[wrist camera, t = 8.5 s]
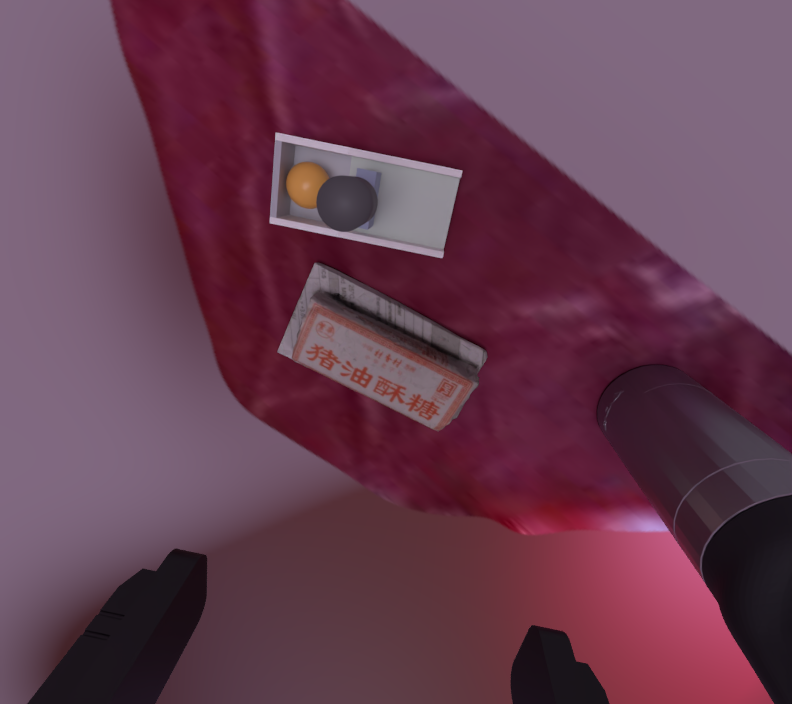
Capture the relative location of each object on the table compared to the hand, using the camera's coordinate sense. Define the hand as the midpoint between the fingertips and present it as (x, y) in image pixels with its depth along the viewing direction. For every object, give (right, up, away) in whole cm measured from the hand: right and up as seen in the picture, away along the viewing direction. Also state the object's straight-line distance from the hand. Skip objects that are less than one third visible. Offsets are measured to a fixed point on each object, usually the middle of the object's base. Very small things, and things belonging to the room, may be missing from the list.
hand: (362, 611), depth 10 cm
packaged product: (0, +7, +31) cm, 31 cm away
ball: (-6, +20, +23) cm, 31 cm away
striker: (-1, +18, +23) cm, 29 cm away
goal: (-6, +20, +25) cm, 33 cm away
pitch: (+1, +19, +25) cm, 31 cm away
